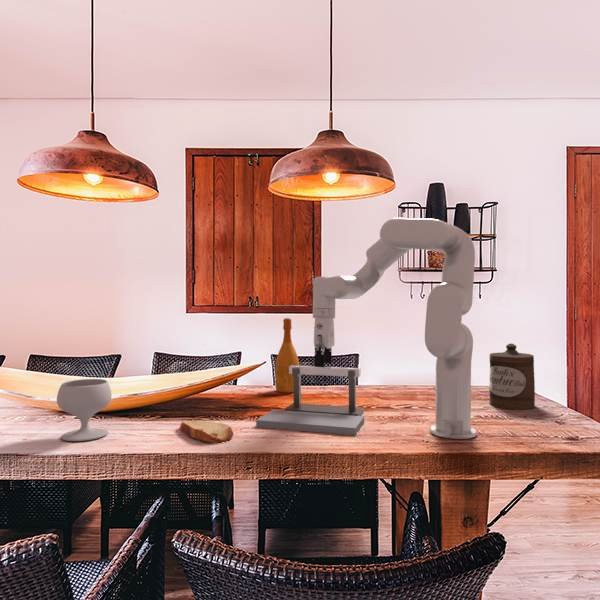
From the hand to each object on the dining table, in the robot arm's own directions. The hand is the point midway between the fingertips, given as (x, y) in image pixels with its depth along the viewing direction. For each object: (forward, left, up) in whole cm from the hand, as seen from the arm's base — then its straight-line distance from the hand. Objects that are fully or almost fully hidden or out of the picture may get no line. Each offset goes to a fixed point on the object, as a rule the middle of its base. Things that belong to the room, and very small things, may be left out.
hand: (323, 364), depth 163 cm
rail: (0, 0, -3) cm, 3 cm away
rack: (0, 0, -16) cm, 16 cm away
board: (-16, 0, -16) cm, 23 cm away
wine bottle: (+32, +24, -16) cm, 43 cm away
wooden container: (+31, -61, -16) cm, 71 cm away
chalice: (-46, +57, -16) cm, 75 cm away
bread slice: (-35, +26, -17) cm, 46 cm away
